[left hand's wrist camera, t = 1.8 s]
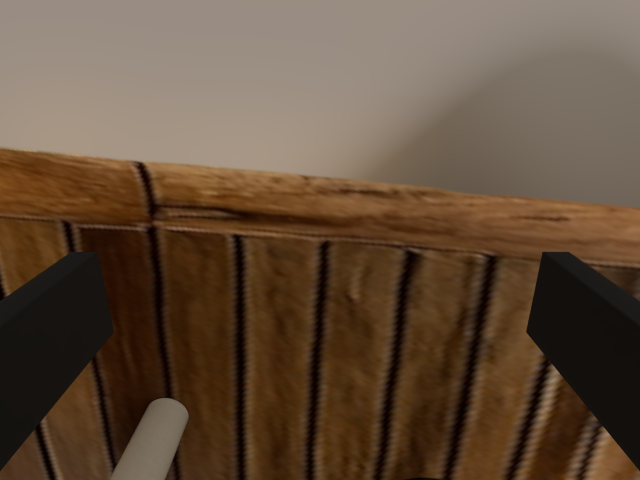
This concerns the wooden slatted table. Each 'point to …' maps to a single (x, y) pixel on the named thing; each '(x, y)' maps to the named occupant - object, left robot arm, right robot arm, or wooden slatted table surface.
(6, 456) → the left robot arm
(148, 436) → the beige cylinder
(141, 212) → the wooden slatted table surface
